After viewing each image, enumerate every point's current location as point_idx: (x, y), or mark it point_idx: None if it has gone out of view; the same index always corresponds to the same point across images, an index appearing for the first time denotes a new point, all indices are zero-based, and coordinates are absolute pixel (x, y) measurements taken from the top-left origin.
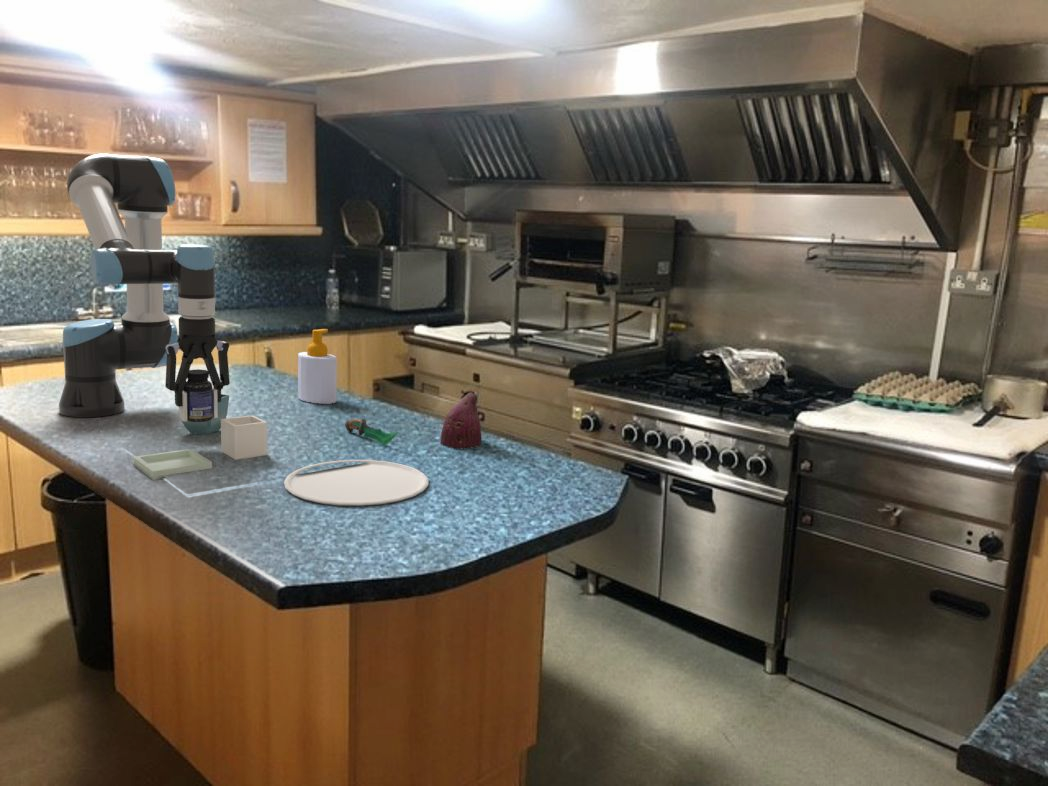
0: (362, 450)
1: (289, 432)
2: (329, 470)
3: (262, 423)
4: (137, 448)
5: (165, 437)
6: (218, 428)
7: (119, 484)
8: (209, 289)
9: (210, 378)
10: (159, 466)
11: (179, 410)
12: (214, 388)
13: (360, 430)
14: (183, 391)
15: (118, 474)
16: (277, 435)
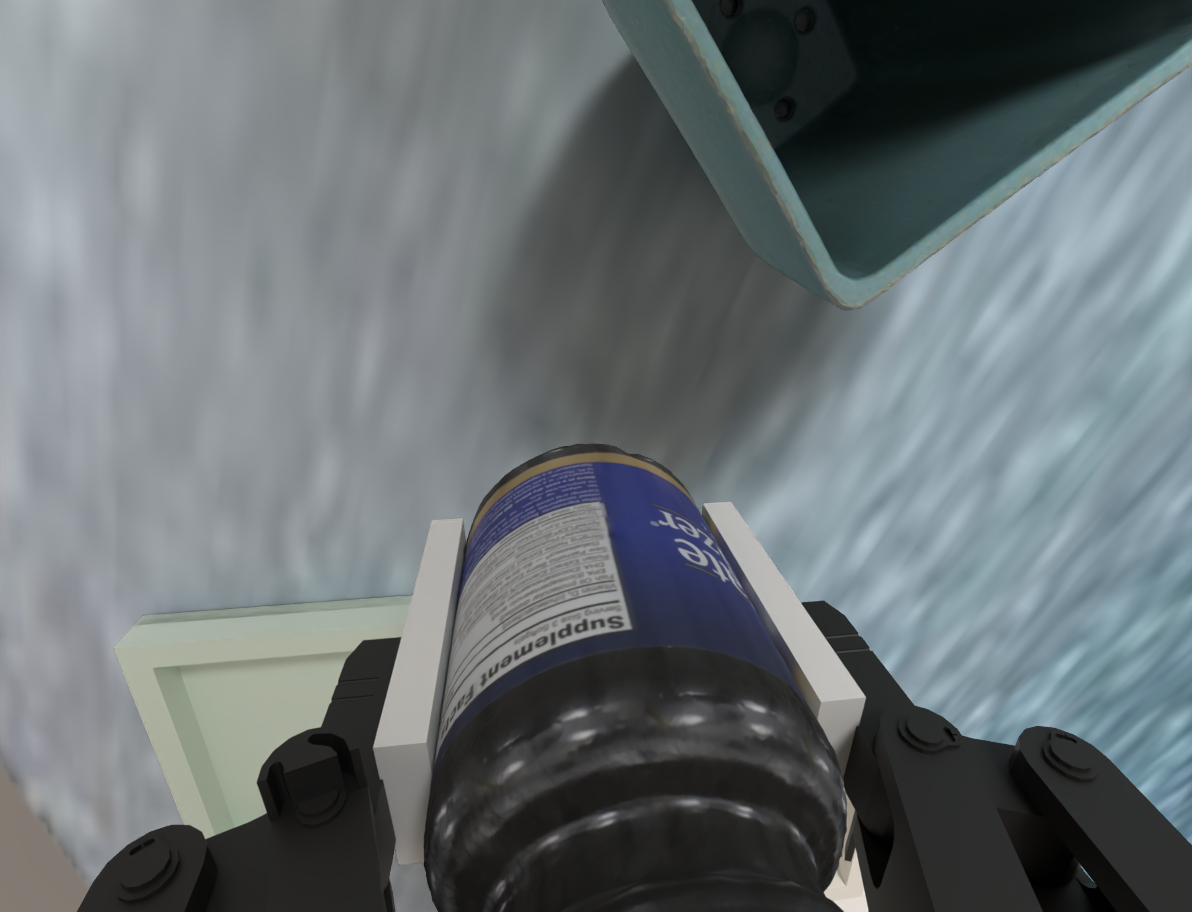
0: (1113, 758)
1: (1146, 362)
2: (848, 909)
3: (830, 896)
4: (188, 279)
5: (440, 50)
6: (850, 117)
7: (71, 837)
8: None
9: (912, 848)
10: (266, 729)
11: (420, 568)
12: (845, 757)
13: None
14: (421, 804)
15: (61, 722)
16: (1053, 394)
